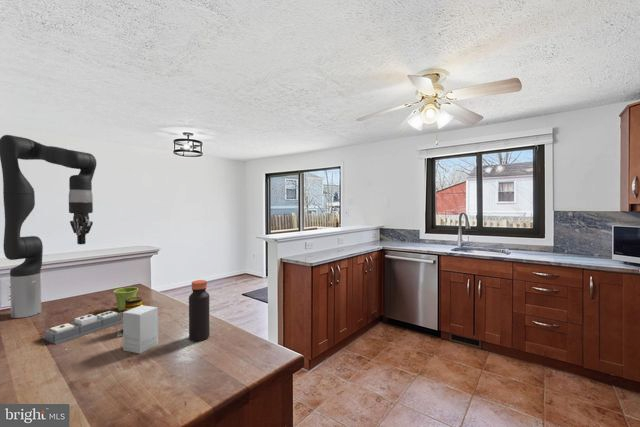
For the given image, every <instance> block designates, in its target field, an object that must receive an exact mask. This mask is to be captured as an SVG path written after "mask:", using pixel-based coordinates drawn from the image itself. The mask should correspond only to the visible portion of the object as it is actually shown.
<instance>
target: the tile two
mask: <svg viewBox="0 0 640 427" xmlns="http://www.w3.org/2000/svg"><path fill="white" fill-rule="evenodd" d="M95 321H97V316H96V315H93V314H91V313H90V314H86V315H82V316H79V317H75V318H74V322H75V324H77V325H80V326H82V325H85V324H89V323H92V322H95Z"/></svg>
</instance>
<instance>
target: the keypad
mask: <svg viewBox="0 0 640 427" xmlns="http://www.w3.org/2000/svg"><path fill="white" fill-rule="evenodd" d="M112 311H113V310H112ZM113 312H116V313H117V315H115V316H112V317H109V318H105V319H101V318H98V317H97V321H95V322H92V323H89V324H85V325H82V326H80V325H77V324H75V321H72V322H70V323H69V322H68V324H71V325H74V328H72V329H69V330H66V331H62V332H59V333H54V332H52V331H50V328H48V329H45V330H44V335H43V336H42V337H41V338H42V339H43V340H46V341H47V342H49V343H51V344H54V345H60V344H62V343H65V342H67V341H70V340H74V339H76V338H80V337H82V336H85V335H89V334H92V333H94V332H95V333H96V332H98V331H101V330H103V329H106V328H108V329H109V328H110V327H113V326H116V325H120V324H123V313H119V312H117V311H113ZM97 315H98V314H96V315H95V316H97Z"/></svg>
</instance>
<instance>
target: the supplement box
mask: <svg viewBox="0 0 640 427" xmlns="http://www.w3.org/2000/svg"><path fill="white" fill-rule="evenodd" d="M122 320H123V323H122V329H123V336H122V337H123V338H122V339H123V341H122V342H123V344H122V345H123V351H126V352H130V353H135V354H139V355H140V354H142V353H145V352H146V351H149V350H150V349H153V347H156V346H158V345H159V307H156V306H149V305H144V304H142V306H139V307H136V308H133V309H131V310H128V311H125V312H124V311H123V312H122Z"/></svg>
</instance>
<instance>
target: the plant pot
mask: <svg viewBox="0 0 640 427" xmlns="http://www.w3.org/2000/svg"><path fill="white" fill-rule="evenodd" d="M138 291H139V288H138V287H135V286H133V287H132V286H130V287H129V286H128V287H127V286H126V287H121V288H117V289H114V290H113V294H114V297H115V299H116V306H117V311H119V312H121V311H124V308H125V304H126V303H125V301H126V300H127V299H129V298H133V297H137V293H138Z"/></svg>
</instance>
